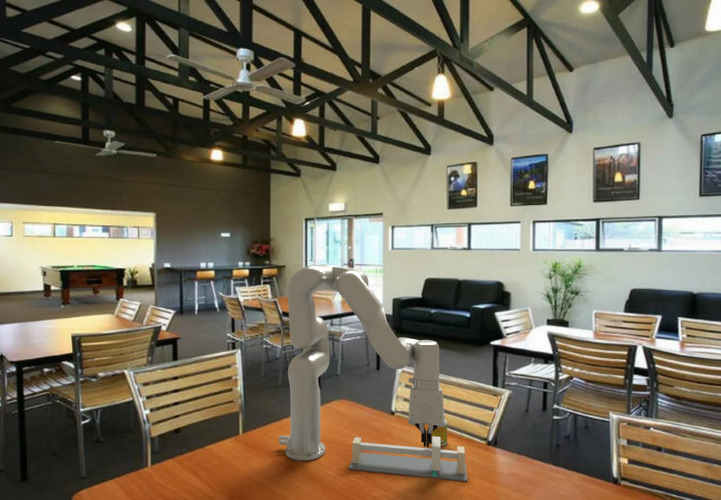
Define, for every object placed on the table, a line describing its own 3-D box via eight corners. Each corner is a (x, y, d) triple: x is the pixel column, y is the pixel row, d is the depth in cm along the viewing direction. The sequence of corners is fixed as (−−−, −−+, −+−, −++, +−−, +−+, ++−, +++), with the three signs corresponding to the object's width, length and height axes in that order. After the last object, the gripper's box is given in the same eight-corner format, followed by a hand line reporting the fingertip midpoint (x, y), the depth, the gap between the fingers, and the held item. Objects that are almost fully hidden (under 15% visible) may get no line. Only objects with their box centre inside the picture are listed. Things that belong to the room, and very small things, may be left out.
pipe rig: (348, 469, 124) (348, 447, 124) (355, 453, 134) (355, 433, 134) (467, 481, 117) (467, 458, 117) (465, 463, 127) (465, 442, 127)
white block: (431, 470, 121) (431, 446, 121) (432, 458, 127) (432, 436, 127) (440, 470, 120) (440, 447, 120) (440, 459, 127) (440, 436, 127)
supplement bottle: (447, 447, 138) (447, 417, 138) (430, 445, 139) (430, 416, 139) (447, 439, 143) (447, 411, 144) (431, 438, 145) (431, 410, 145)
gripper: (399, 385, 122) (399, 448, 122) (452, 388, 119) (452, 453, 119) (402, 377, 130) (402, 437, 130) (451, 380, 127) (452, 441, 127)
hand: (426, 444), depth 124 cm, fingers closed
